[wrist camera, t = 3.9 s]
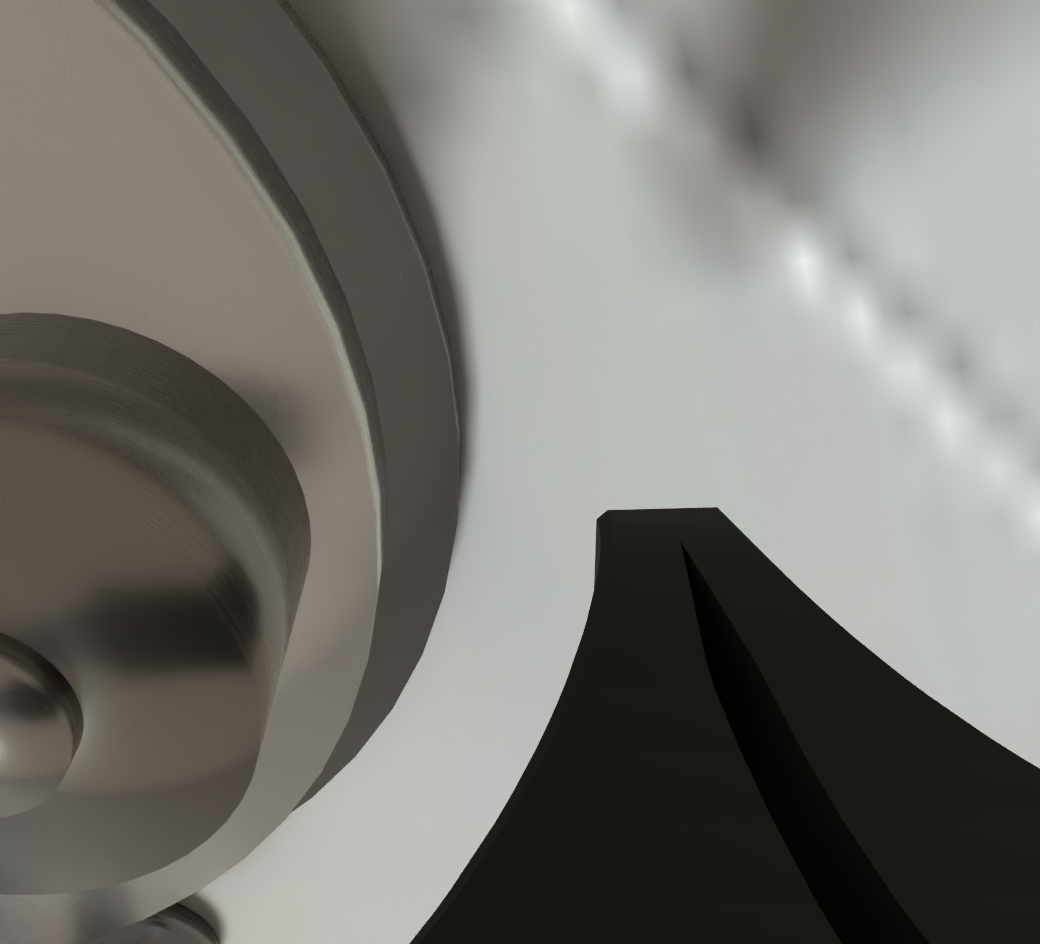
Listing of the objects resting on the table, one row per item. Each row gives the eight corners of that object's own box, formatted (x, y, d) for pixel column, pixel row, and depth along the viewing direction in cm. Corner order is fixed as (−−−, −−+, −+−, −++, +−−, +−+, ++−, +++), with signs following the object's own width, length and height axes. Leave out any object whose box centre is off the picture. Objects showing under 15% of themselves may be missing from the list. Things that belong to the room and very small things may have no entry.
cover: (149, 751, 14) (54, 991, 11) (-238, 532, 12) (-492, 753, 9) (402, 516, 12) (373, 725, 9) (-7, 206, 10) (-228, 342, 7)
